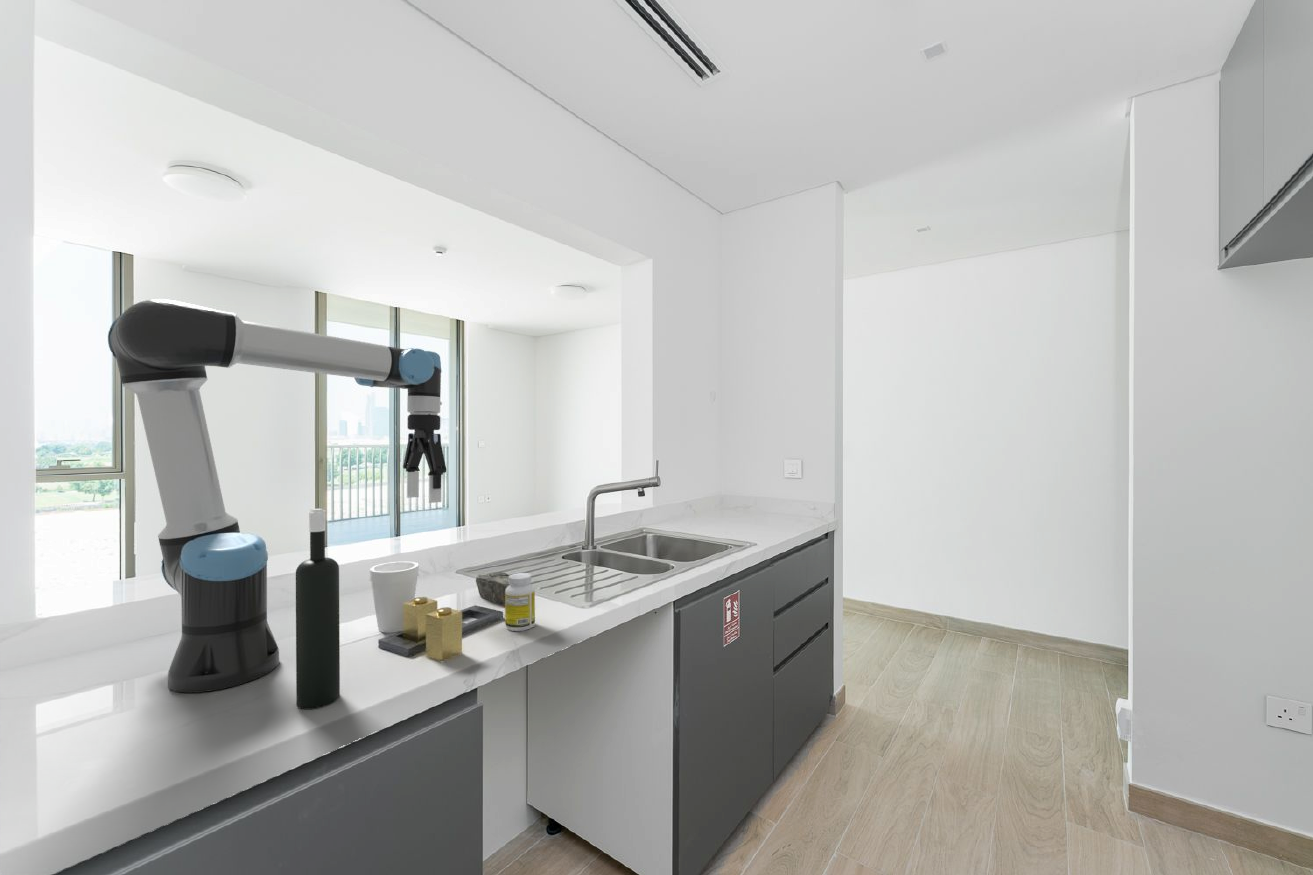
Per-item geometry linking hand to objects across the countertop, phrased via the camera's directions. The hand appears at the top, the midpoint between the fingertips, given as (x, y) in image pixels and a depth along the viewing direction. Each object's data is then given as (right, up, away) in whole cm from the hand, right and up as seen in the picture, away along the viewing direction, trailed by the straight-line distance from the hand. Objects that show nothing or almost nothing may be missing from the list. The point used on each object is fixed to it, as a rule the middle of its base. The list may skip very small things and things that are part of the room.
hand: (423, 499), depth 135 cm
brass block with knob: (+11, -25, -26) cm, 38 cm away
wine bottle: (+5, -26, -50) cm, 56 cm away
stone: (+19, -25, +1) cm, 32 cm away
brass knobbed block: (+18, -26, -32) cm, 45 cm away
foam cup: (+2, -25, -18) cm, 31 cm away
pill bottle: (+28, -26, -18) cm, 42 cm away
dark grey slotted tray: (+14, -25, -21) cm, 35 cm away
